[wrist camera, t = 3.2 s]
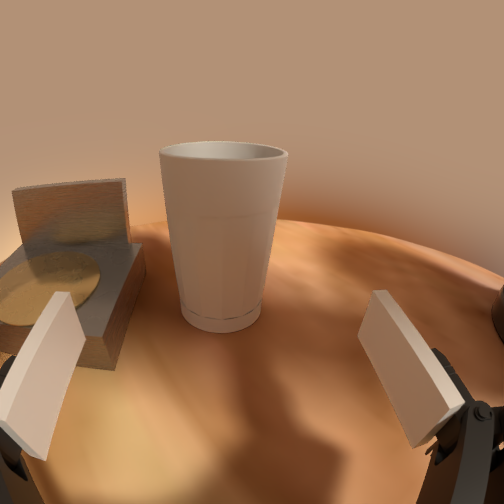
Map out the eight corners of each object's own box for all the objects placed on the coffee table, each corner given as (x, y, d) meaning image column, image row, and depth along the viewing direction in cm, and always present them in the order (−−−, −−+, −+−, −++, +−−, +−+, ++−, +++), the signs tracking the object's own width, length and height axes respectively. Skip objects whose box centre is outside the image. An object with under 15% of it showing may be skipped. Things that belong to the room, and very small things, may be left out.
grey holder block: (146, 271, 27) (137, 177, 23) (114, 370, 16) (76, 241, 12) (27, 269, 25) (8, 188, 21) (-30, 343, 14) (-72, 244, 10)
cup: (153, 326, 20) (133, 156, 15) (192, 272, 27) (189, 139, 22) (261, 351, 19) (280, 165, 14) (277, 286, 26) (293, 146, 20)
